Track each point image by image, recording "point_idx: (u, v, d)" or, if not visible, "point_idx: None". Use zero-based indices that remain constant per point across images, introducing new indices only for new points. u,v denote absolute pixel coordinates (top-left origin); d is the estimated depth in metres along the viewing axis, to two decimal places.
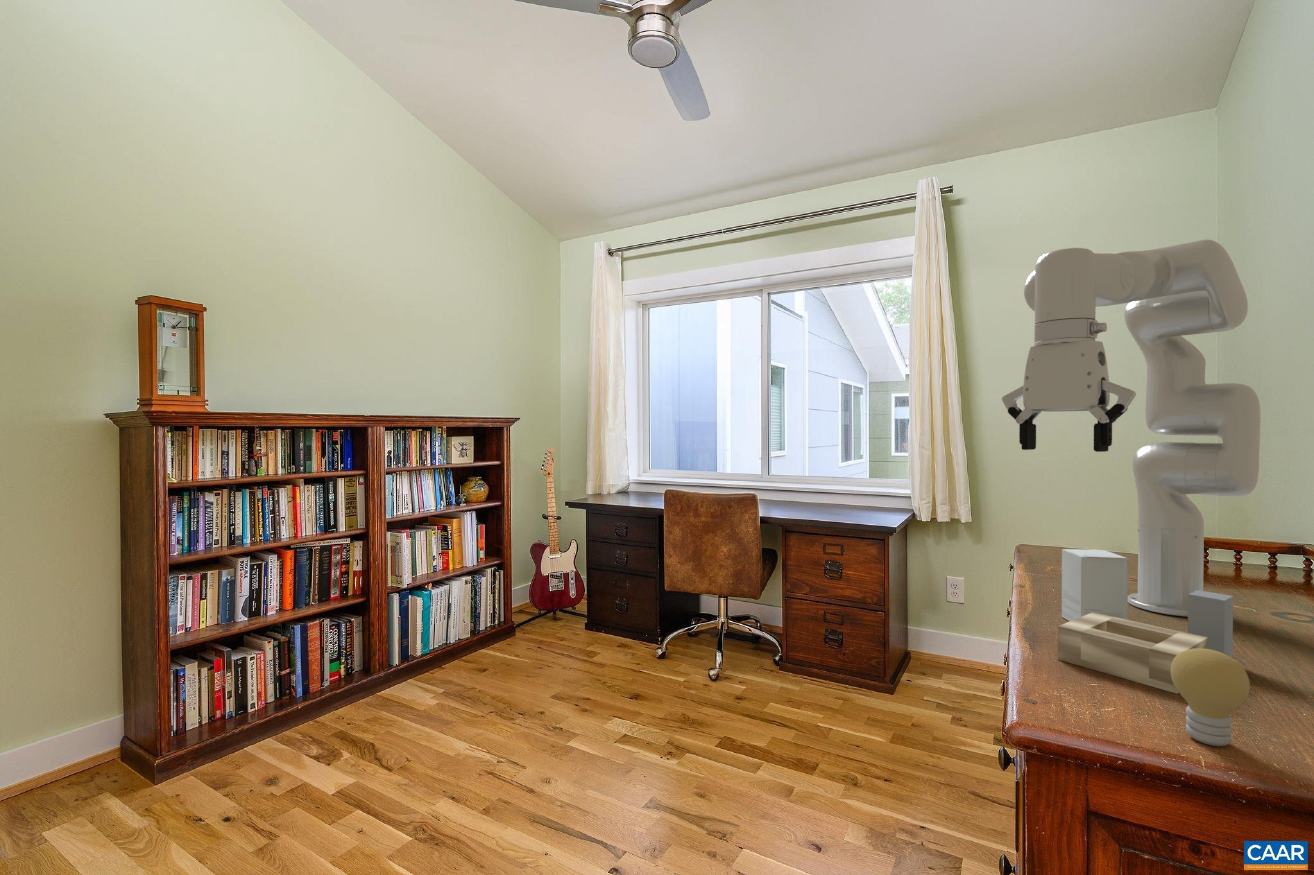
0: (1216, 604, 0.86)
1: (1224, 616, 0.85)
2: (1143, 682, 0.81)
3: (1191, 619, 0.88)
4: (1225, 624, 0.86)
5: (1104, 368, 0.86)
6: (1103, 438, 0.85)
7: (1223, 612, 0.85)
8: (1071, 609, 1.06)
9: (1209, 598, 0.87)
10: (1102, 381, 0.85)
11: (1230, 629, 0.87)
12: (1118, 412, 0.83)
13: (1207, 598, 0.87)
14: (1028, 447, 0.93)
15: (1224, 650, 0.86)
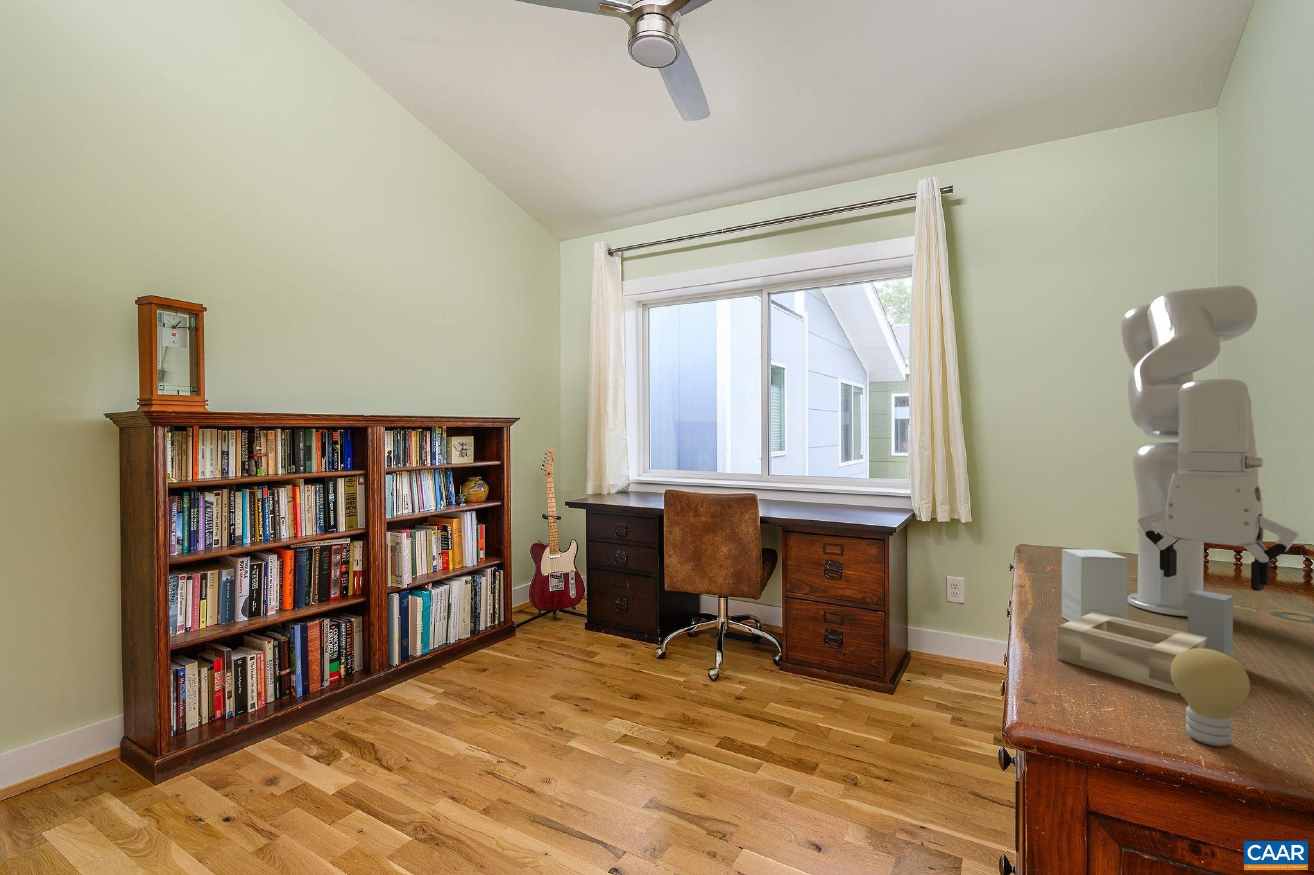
0: (1216, 604, 0.86)
1: (1224, 616, 0.85)
2: (1143, 682, 0.81)
3: (1191, 619, 0.88)
4: (1225, 624, 0.86)
5: (1260, 504, 0.84)
6: (1261, 577, 0.83)
7: (1223, 612, 0.85)
8: (1071, 609, 1.06)
9: (1209, 598, 0.87)
10: (1259, 518, 0.83)
11: (1230, 629, 0.87)
12: (1279, 553, 0.81)
13: (1207, 598, 0.87)
14: (1170, 575, 0.91)
15: (1224, 650, 0.86)
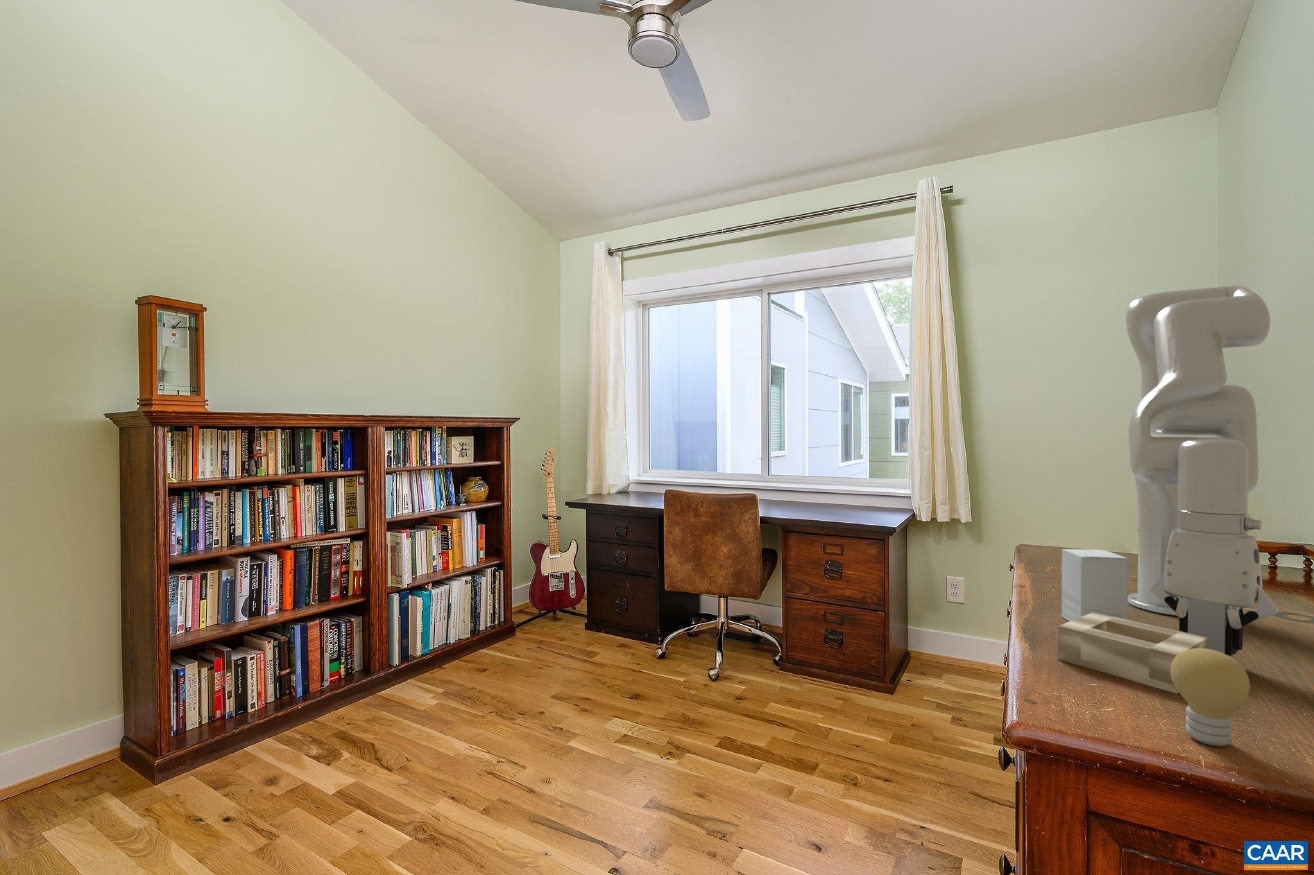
0: (1216, 604, 0.86)
1: (1224, 616, 0.85)
2: (1143, 682, 0.81)
3: (1191, 619, 0.88)
4: (1225, 624, 0.86)
5: (1258, 565, 0.84)
6: (1235, 642, 0.85)
7: (1223, 612, 0.85)
8: (1071, 609, 1.06)
9: None
10: None
11: None
12: (1252, 620, 0.84)
13: None
14: None
15: (1224, 650, 0.86)
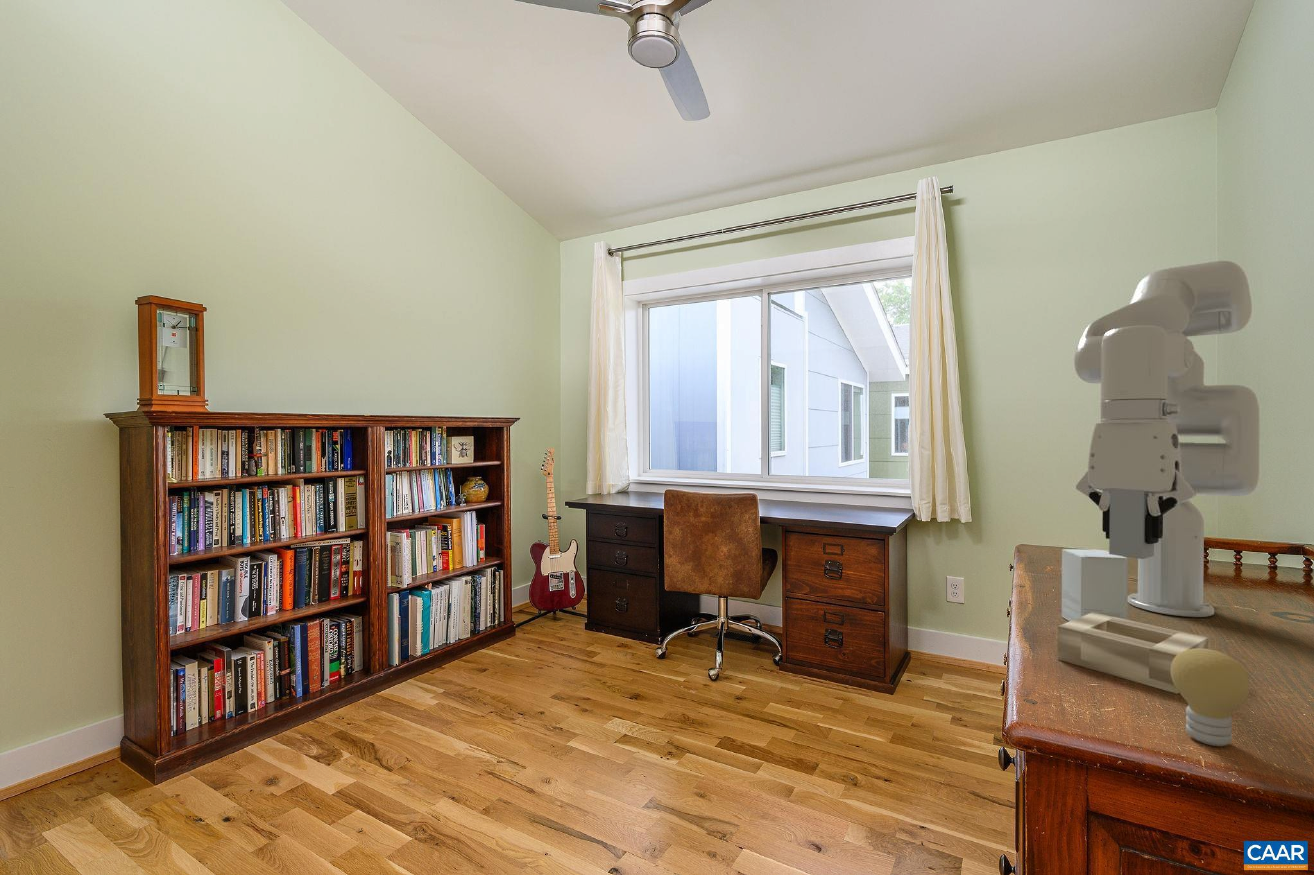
0: (1136, 492, 0.85)
1: (1143, 503, 0.84)
2: (1143, 682, 0.81)
3: (1112, 510, 0.87)
4: (1145, 512, 0.84)
5: (1177, 451, 0.83)
6: (1154, 530, 0.84)
7: (1142, 499, 0.84)
8: (1071, 609, 1.06)
9: None
10: None
11: None
12: (1170, 506, 0.82)
13: None
14: None
15: (1144, 538, 0.84)
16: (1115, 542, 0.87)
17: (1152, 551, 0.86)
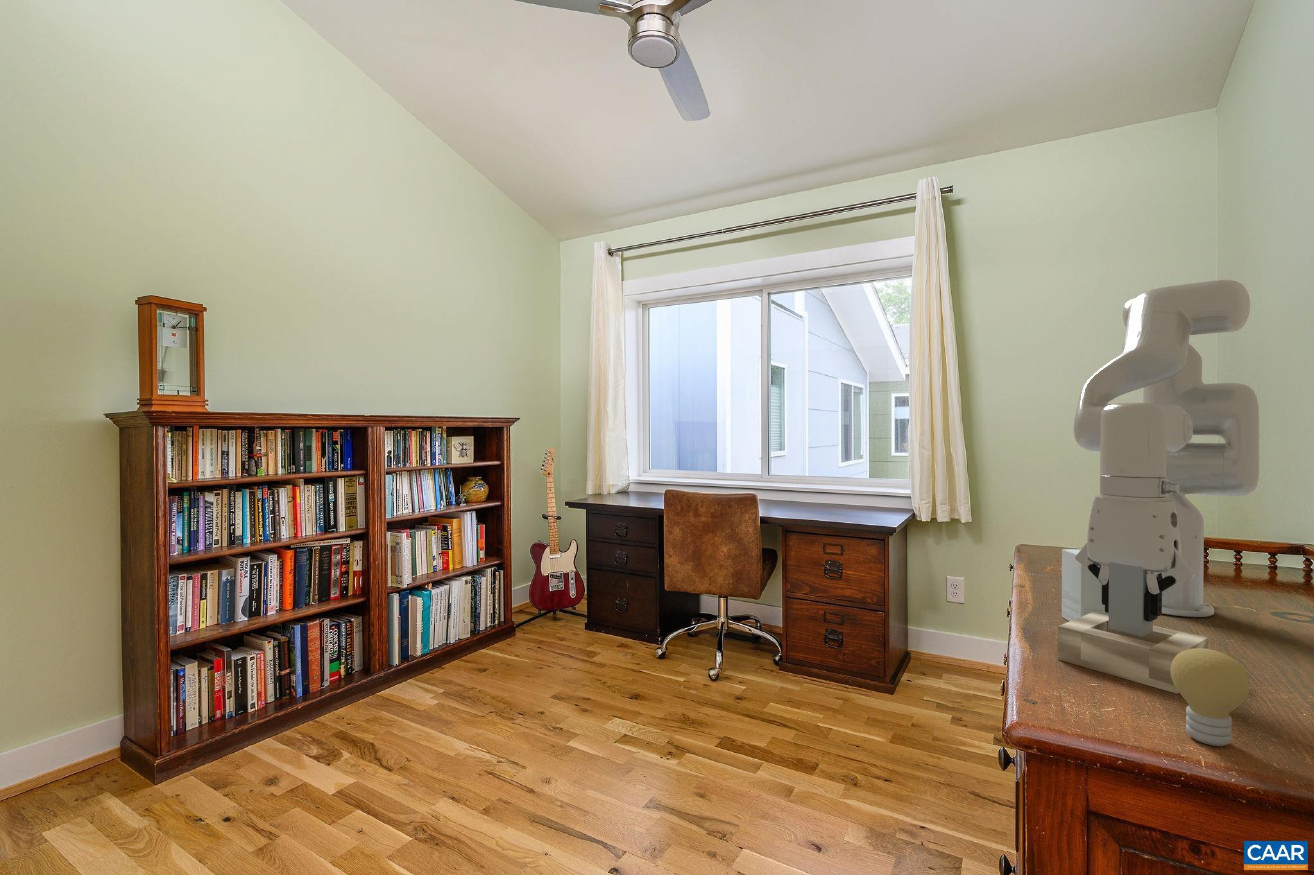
0: (1135, 569, 0.85)
1: (1142, 581, 0.84)
2: (1143, 682, 0.81)
3: (1112, 585, 0.87)
4: (1144, 589, 0.84)
5: (1176, 530, 0.83)
6: (1153, 608, 0.84)
7: (1141, 577, 0.84)
8: (1071, 609, 1.06)
9: None
10: None
11: None
12: (1169, 585, 0.83)
13: None
14: None
15: (1143, 616, 0.84)
16: (1114, 617, 0.87)
17: (1151, 627, 0.86)
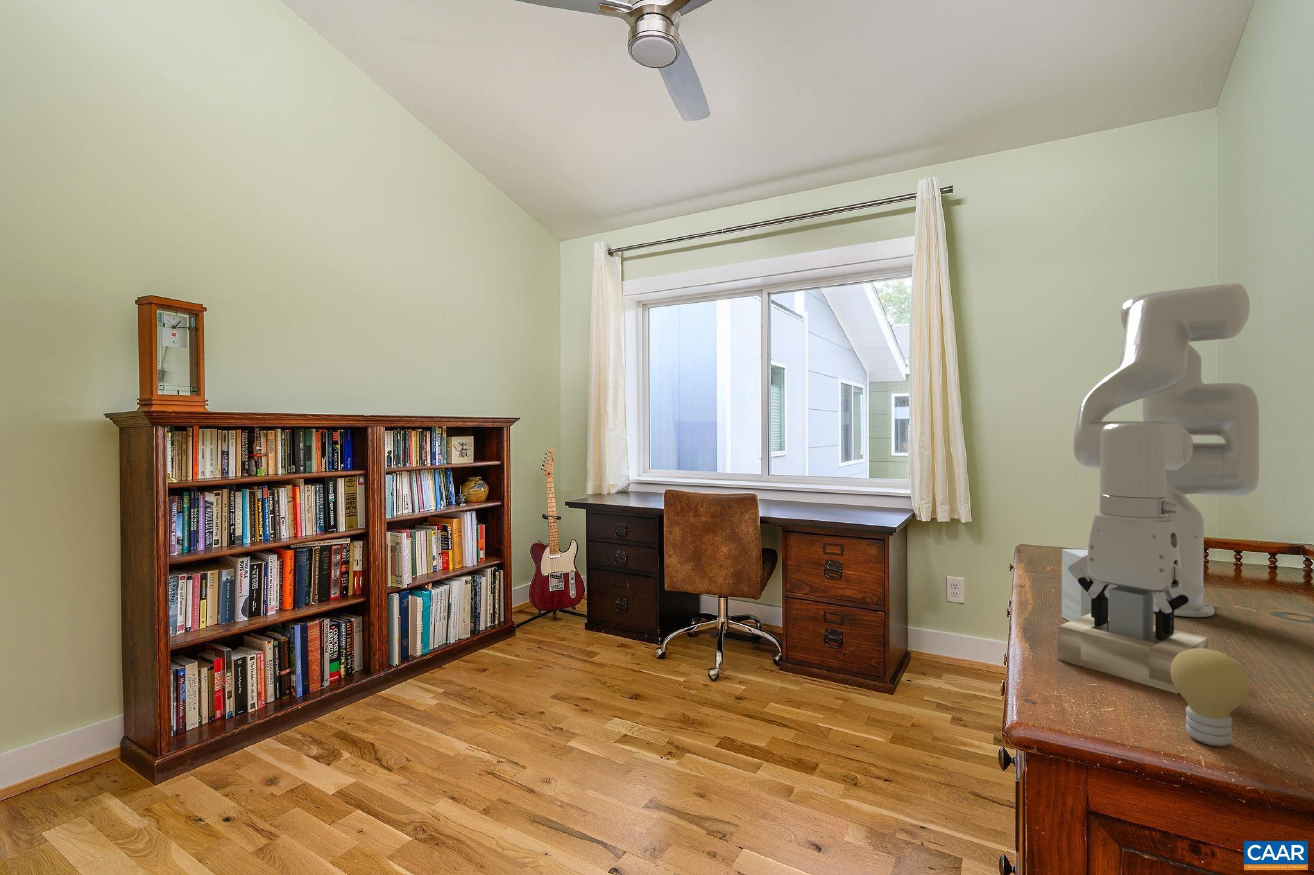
0: (1135, 600, 0.85)
1: (1142, 611, 0.84)
2: (1143, 682, 0.81)
3: (1112, 615, 0.87)
4: (1144, 619, 0.85)
5: (1176, 550, 0.83)
6: (1165, 627, 0.83)
7: (1141, 607, 0.84)
8: (1071, 609, 1.06)
9: (1128, 593, 0.86)
10: (1173, 567, 0.82)
11: (1150, 625, 0.86)
12: (1182, 604, 0.82)
13: (1126, 593, 0.86)
14: (1101, 624, 0.89)
15: None
16: None
17: None
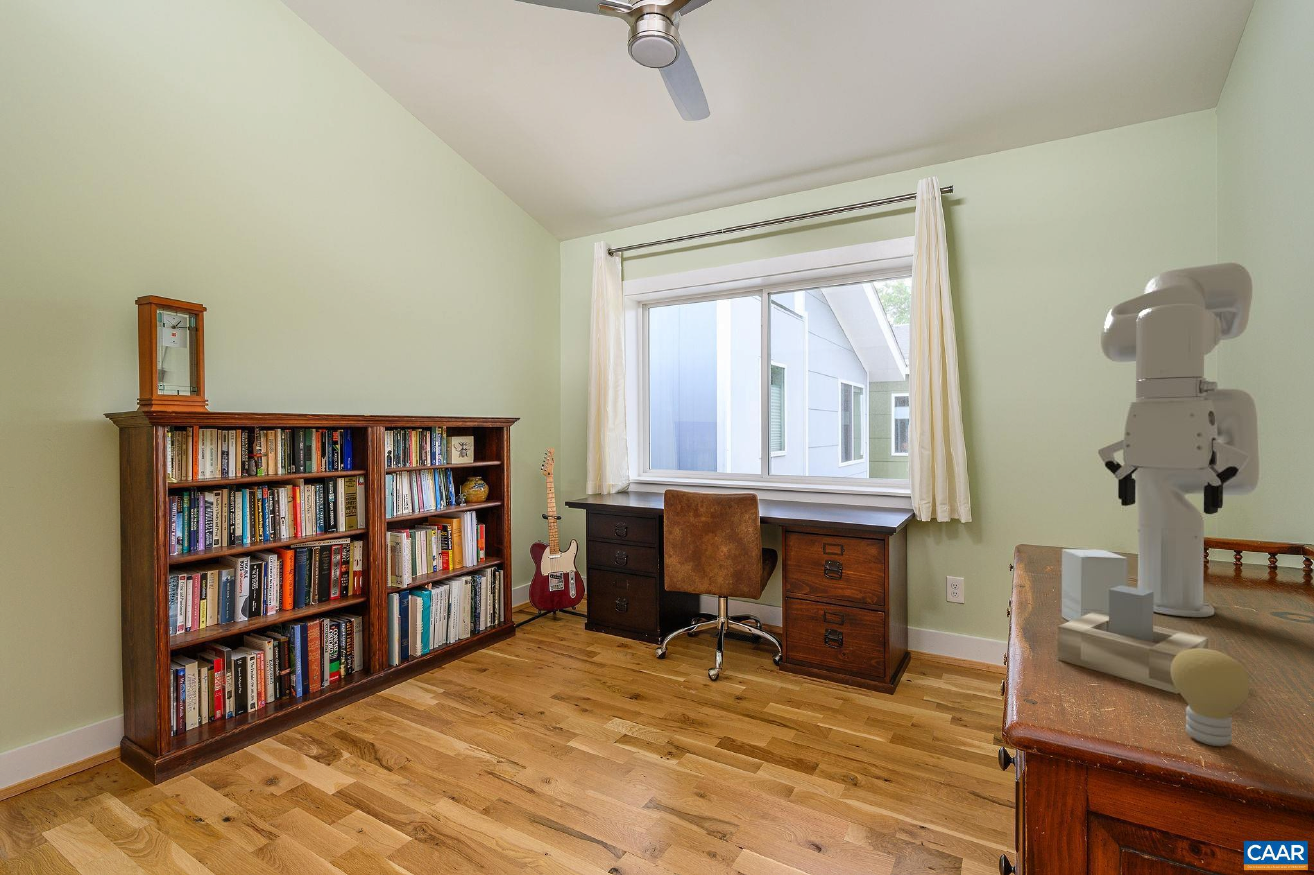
0: (1135, 599, 0.85)
1: (1142, 611, 0.84)
2: (1143, 682, 0.81)
3: (1112, 615, 0.87)
4: (1144, 619, 0.85)
5: (1214, 428, 0.84)
6: (1214, 500, 0.83)
7: (1141, 607, 0.84)
8: (1071, 609, 1.06)
9: (1128, 593, 0.86)
10: (1213, 442, 0.83)
11: (1150, 625, 0.86)
12: (1231, 475, 0.81)
13: (1127, 593, 0.86)
14: (1128, 503, 0.91)
15: None
16: None
17: None
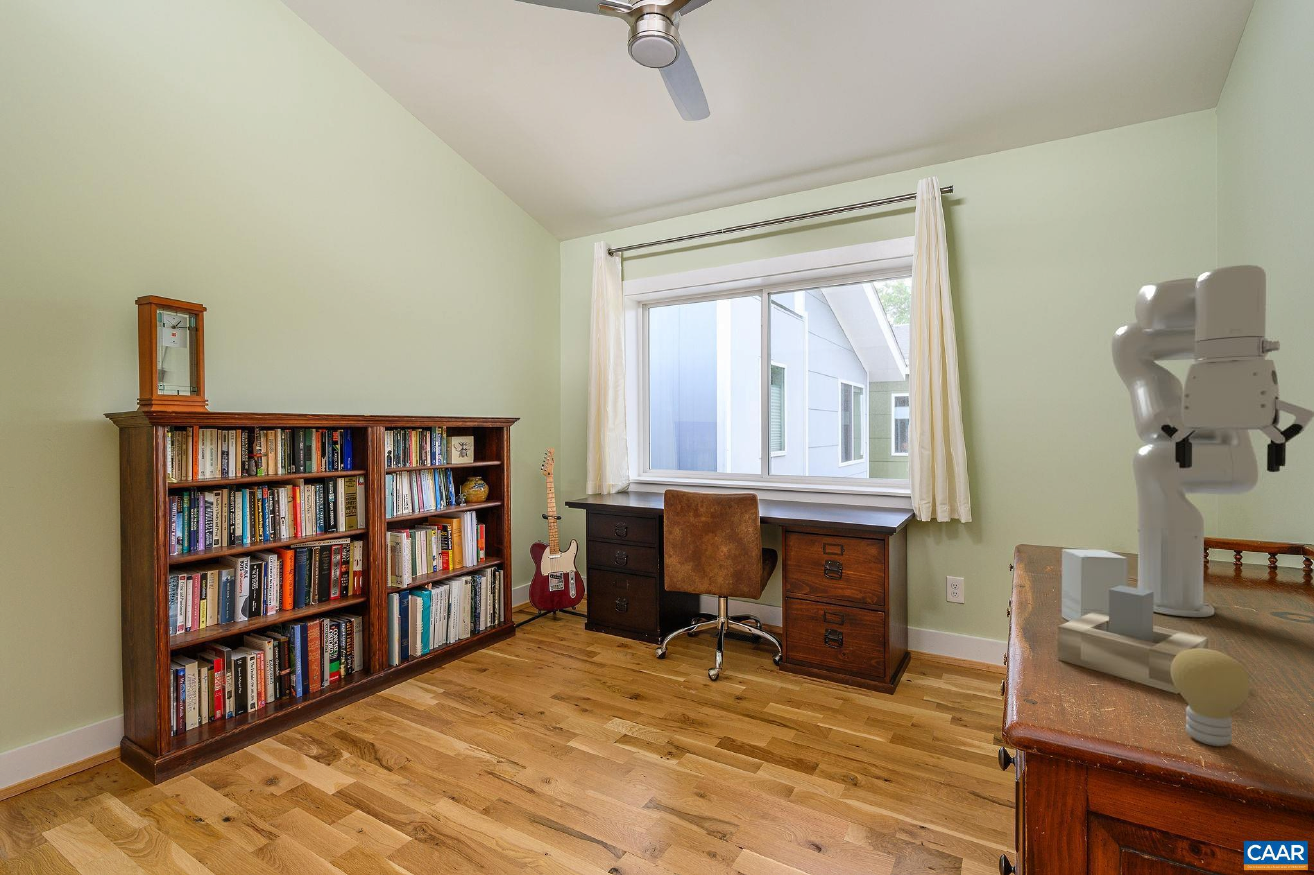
0: (1135, 599, 0.85)
1: (1142, 611, 0.84)
2: (1143, 682, 0.81)
3: (1112, 615, 0.87)
4: (1144, 619, 0.85)
5: (1276, 387, 0.85)
6: (1277, 458, 0.84)
7: (1141, 607, 0.84)
8: (1071, 609, 1.06)
9: (1128, 593, 0.86)
10: (1276, 400, 0.84)
11: (1150, 625, 0.86)
12: (1296, 432, 0.82)
13: (1127, 593, 0.86)
14: (1186, 465, 0.92)
15: None
16: None
17: None
